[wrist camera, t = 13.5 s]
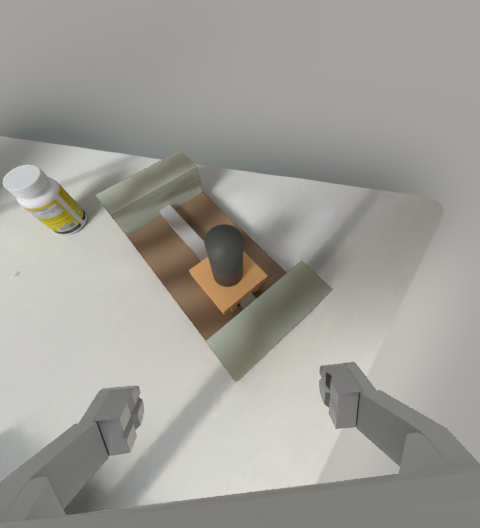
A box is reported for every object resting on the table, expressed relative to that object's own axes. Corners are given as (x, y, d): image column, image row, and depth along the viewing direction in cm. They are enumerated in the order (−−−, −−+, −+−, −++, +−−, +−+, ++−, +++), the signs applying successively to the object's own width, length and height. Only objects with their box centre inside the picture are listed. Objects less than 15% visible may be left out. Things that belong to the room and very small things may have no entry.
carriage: (193, 279, 27) (172, 236, 19) (232, 250, 29) (229, 200, 21) (225, 318, 25) (217, 288, 17) (265, 284, 27) (275, 243, 19)
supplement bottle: (67, 206, 35) (19, 158, 27) (94, 213, 34) (53, 165, 27) (46, 232, 33) (-12, 187, 25) (75, 239, 32) (24, 196, 25)
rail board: (119, 225, 33) (95, 194, 28) (188, 184, 37) (179, 150, 31) (236, 381, 24) (235, 381, 19) (315, 307, 27) (332, 289, 22)
